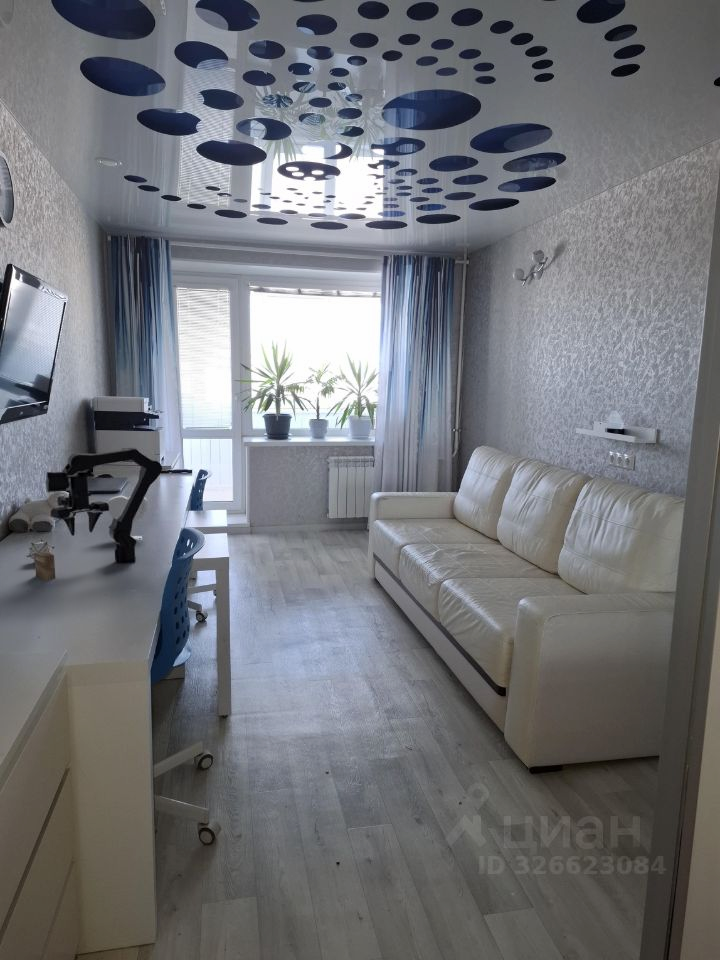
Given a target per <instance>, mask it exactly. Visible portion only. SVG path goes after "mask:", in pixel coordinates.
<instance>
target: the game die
mask: <svg viewBox="0 0 720 960" xmlns="http://www.w3.org/2000/svg"><path fill="white" fill-rule="evenodd" d="M30 544H31V547H29V548H28V549H29V550H30V551H29V554H28V555H26V558H31V559H32V560H33V562H34V563H35V554H34V553H38V552H42V551H44V552H47V553H50V554H52V551H53V549H55V546H51V545H49V544H48V542H47V541H46V542H45V541H43V539H42V538H41V539H40V541H38V542H35V543H34V542H31V543H30Z"/></svg>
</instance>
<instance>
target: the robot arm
mask: <svg viewBox="0 0 720 960" xmlns="http://www.w3.org/2000/svg"><path fill="white" fill-rule="evenodd" d="M127 461H133V462H134V463H135V464H136V465H137V466H139V467H140V468H139V469H140V470H139V473H138V481H137V483H136V485H135V487H134V489H133V491H132V493H131V495H130V496H131V497H130V496H129V497H130V499H129V501H128V503H127V505H126V507H125V509H124V511H123V513H122V515H121V516H120V517H119V518H118V519H115V518H112V520H111V524H110V525H109V526H108V529H109V530H108V535H109V537H110V538H111V540H112V539H114V540H115V541H114V542H115V543H116V545H115V546H116V547H115V548H114V562H116V563H115V564H127V563H128V564H129V563H136V561H137V558H136V557H137V556H136V544H137V540H135V539H134V538H133V537H131V536H132V535H131V536H130V533H131V534H132V528H133V525H132V523H133V519H134V517H135V515H136V513H137V511H138V509H139V507H140V505H141V503H142V501H143V499H144V497H145V496H146V495H147V493H148V490H149V488H150V486H151V485H152V484H153V483H154V482H155V481H156V480H157V479H158V477H159V476H160V475H161V473H162V472H163V466H162V464H161V463H160V462H159V461H158V460H154V459H151V458H149V457H148V456H146V455H144V454H142V452H140V451H139V450H138V449H136V448H133V447H130V448H127V449H120V450H114V451H107V452H98V453H83V452H79V453H77V452H76V453H72V454H70V455H69V457H68V459H67V463H66V465H65V466H64V468H63V469H62V471H54V472H53V471H46V478H45V479H46V480H45V489H46V492H47V493H57V492H66V491H67V489H69V488H70V492H68V497H65V496H64V495H61V496H57V506H58V507H53V508H52V509H50V510H51V511H50V517H51V518H56V519H60V520H61V519H62V520H63V521H64V523H65V524H66V527H67V528H68V530H69V533H70V536H71V537H72V536H75V531H76V530H75V529H76V528H75V527H76V526H75V525H76V517H75V516H73V515H74V514H79V513H85V512H86V513H87V517H88V530H89V533H93V531H94V528H95V527H96V524H97V522H98V520H99V519H100V517H101V515H103V513H104V512H108V511H109V505H108V502H105V501H94V502H93V501H92V502H91V503H90V497H91V496H92V493H91V492H89V490H90V489H89V478H93V477H94V476H95V474H94V473H92V472H91V470H90V469H92V468H95V467H98V466H100V465H107V464H114V463H120V462H127ZM145 498H146V497H145Z"/></svg>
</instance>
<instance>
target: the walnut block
mask: <svg viewBox="0 0 720 960" xmlns="http://www.w3.org/2000/svg"><path fill="white" fill-rule="evenodd" d="M34 554H35V562H34V567H35V576H36V577H37V578H40V579H42V578H43V579H42V580H45V581H49V579H50V580H53V578H54V579H56V567H55V565H56V564H55V554H53V553H51V554H50V553H47V552H44V551H42V552H38V553H34Z"/></svg>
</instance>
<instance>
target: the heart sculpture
mask: <svg viewBox="0 0 720 960" xmlns="http://www.w3.org/2000/svg"><path fill="white" fill-rule="evenodd" d="M130 497H131V495H130V496H128V497H126V496H125V495H116V496H114V497H111V498H110V499H108V501H107V503H108V505H109V511H107V512H108V514H109V515H110V516H111V518H112V519H113V518H115V519H118V518H119V517H120V516H121V515H122V513H123V511H124V509H125V507H126V505H127V503H128V501H129V499H130ZM147 512H148V499H147V498H146V497H144V499H143V501H142V503H141V505H140V507H139V509H138V511H137V513H136V515H135V517H134V519H133V523H132V526H133V525H134V524H136V523H138V522H139V521H140V520H141V519H143V518H144V516H145V514H146V513H147ZM130 536H131V537H133V538H134V539H137V540H143V539H142V536H143V535H132V532H131V533H130ZM139 538H141V539H139Z"/></svg>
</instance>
